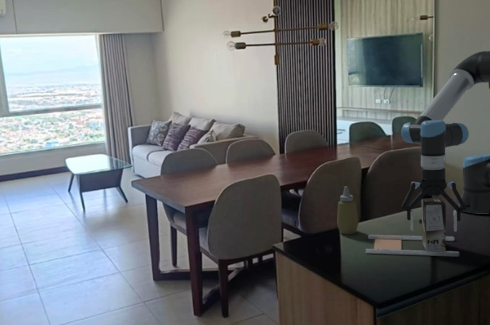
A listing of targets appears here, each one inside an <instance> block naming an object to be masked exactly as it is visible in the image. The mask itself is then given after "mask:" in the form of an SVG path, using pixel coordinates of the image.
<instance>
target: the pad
mask: <svg viewBox="0 0 490 325" xmlns="http://www.w3.org/2000/svg"><path fill="white" fill-rule="evenodd" d="M373 249H391V250H402V240H392V239H374V246H373Z"/></svg>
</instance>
